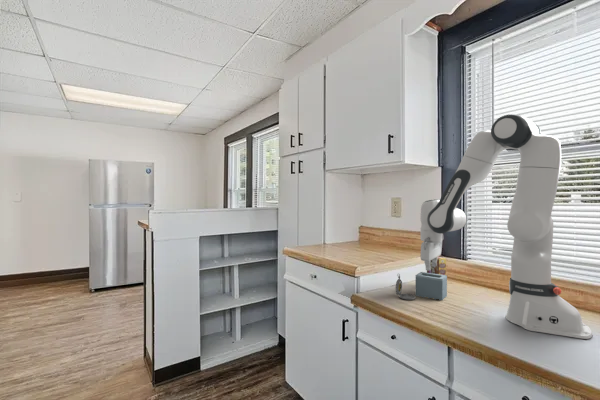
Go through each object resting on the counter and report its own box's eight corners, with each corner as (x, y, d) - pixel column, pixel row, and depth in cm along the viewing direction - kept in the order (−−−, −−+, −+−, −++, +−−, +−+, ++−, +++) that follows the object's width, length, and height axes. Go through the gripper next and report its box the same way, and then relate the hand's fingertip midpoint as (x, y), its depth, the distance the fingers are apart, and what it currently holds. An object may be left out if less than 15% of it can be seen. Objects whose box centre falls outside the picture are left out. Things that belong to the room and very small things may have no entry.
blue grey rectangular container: (446, 296, 135) (446, 275, 135) (442, 300, 129) (442, 279, 129) (420, 291, 142) (420, 271, 142) (415, 295, 135) (415, 275, 135)
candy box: (446, 291, 142) (446, 258, 142) (438, 292, 141) (438, 258, 141) (434, 286, 151) (434, 254, 151) (426, 286, 150) (426, 255, 150)
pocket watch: (417, 300, 129) (417, 276, 129) (397, 300, 129) (397, 276, 129) (411, 294, 137) (411, 272, 137) (392, 294, 137) (392, 272, 137)
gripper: (432, 239, 125) (432, 273, 125) (444, 235, 141) (444, 265, 141) (416, 238, 129) (416, 271, 129) (430, 234, 145) (430, 263, 145)
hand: (431, 268), depth 135 cm, fingers open, 8 cm apart
